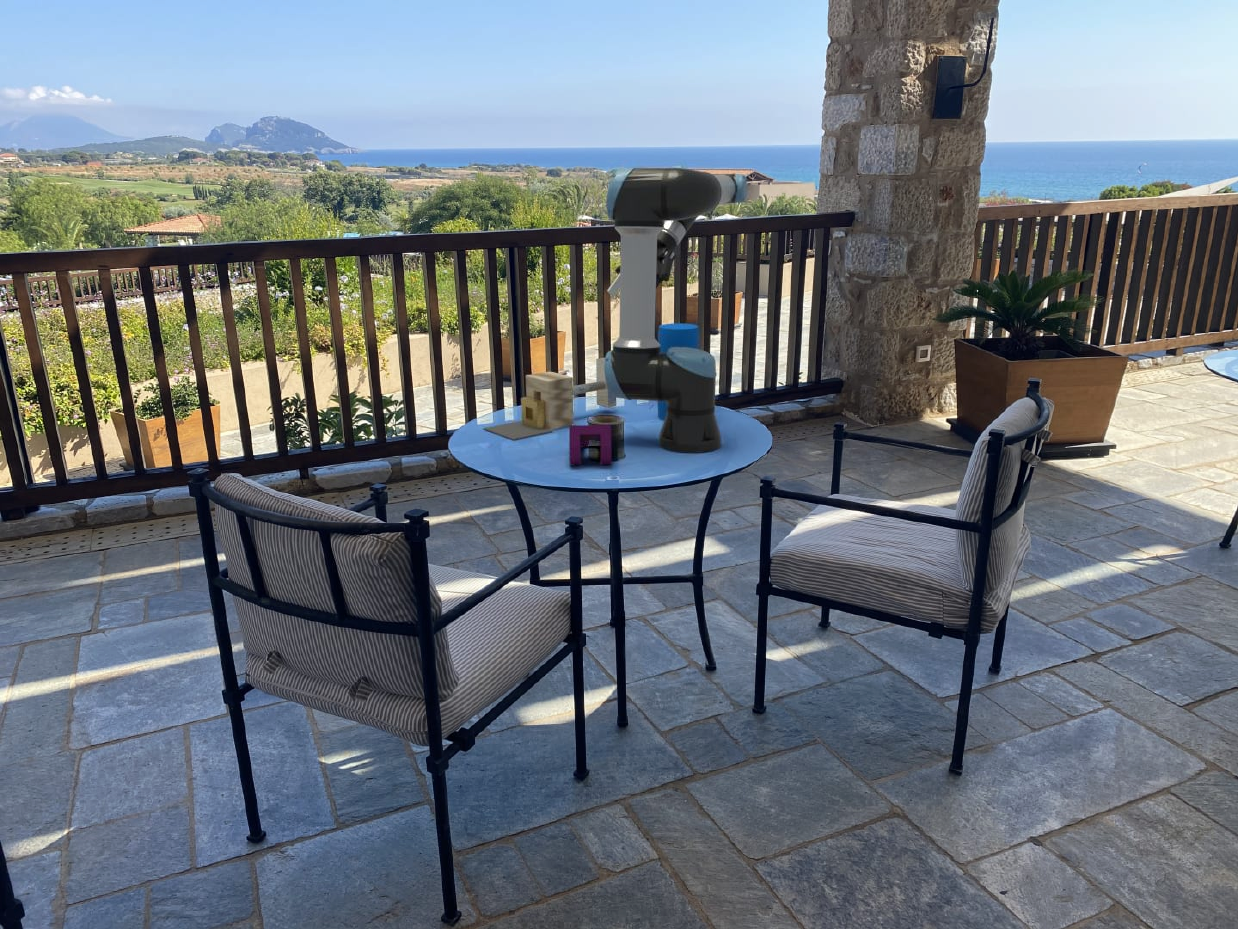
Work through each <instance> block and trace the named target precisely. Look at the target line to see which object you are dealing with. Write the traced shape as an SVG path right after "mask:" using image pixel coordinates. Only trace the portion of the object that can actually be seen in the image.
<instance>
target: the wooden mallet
mask: <svg viewBox="0 0 1238 929" xmlns="http://www.w3.org/2000/svg"><path fill="white" fill-rule="evenodd" d="M595 362H596V364H595V365H596V367H595V368H596V374H595V375H596V381H594V382H589V383H583V384H579V385H578V384H577V385H573V396H575V395H580V394H581V395H582V394H587V393H591V392H596V405H597V406H600V407H603V408H607V409H609V408H614V407H616V406H617V398H616V397H614V396H613V395H612V394H611V393H610V391H609V389H608V387H607V384H606V379H605V371H604V364H605V357H601V358H596V360H595Z"/></svg>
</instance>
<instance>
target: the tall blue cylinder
mask: <svg viewBox="0 0 1238 929" xmlns="http://www.w3.org/2000/svg"><path fill="white" fill-rule="evenodd" d="M699 335H700V331H699V326H698V325H697V324H692V323H665V324H661V325H659V326H658V333H657V342H658V343H659V344H660V345H661V349H660V352H661V353H667V351H668V349H669V348H672V347H687V348H694V349H699V343H700V342H699V338H700V336H699ZM666 414H667V402H665V401H657V418H658V417H659V418H660V419H659V418H658V419H659V420H661V419H662V420H661V421H663V420H665V417H666Z"/></svg>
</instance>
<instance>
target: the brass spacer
mask: <svg viewBox="0 0 1238 929" xmlns="http://www.w3.org/2000/svg"><path fill="white" fill-rule="evenodd" d="M520 404H521V406H520V407H521V408H520V410H521V420H522V424H523V425H526V426H529V427H531V428H534V429H537V430H538V429H543V428H545V406H544V401H542V400H539V399H535V398H532V397H529V396H528V397H526V396H524V397H521V398H520Z"/></svg>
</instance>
